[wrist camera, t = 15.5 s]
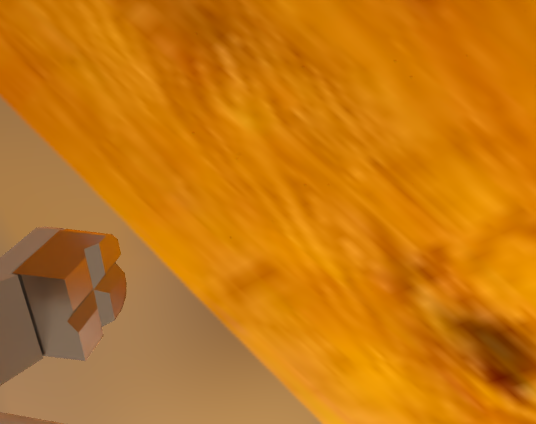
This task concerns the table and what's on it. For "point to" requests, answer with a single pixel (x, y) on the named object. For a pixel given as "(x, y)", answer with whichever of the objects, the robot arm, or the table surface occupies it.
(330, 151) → the table surface
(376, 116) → the table surface
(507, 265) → the table surface
